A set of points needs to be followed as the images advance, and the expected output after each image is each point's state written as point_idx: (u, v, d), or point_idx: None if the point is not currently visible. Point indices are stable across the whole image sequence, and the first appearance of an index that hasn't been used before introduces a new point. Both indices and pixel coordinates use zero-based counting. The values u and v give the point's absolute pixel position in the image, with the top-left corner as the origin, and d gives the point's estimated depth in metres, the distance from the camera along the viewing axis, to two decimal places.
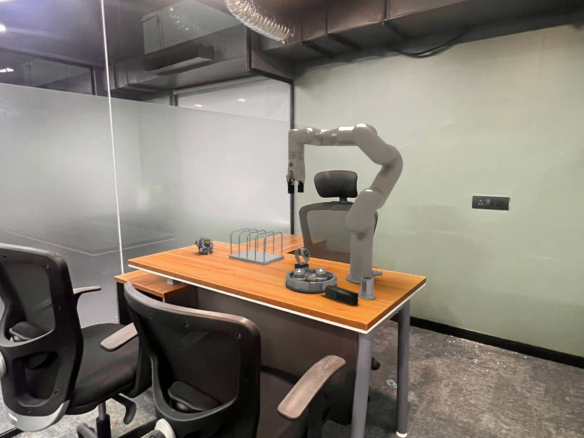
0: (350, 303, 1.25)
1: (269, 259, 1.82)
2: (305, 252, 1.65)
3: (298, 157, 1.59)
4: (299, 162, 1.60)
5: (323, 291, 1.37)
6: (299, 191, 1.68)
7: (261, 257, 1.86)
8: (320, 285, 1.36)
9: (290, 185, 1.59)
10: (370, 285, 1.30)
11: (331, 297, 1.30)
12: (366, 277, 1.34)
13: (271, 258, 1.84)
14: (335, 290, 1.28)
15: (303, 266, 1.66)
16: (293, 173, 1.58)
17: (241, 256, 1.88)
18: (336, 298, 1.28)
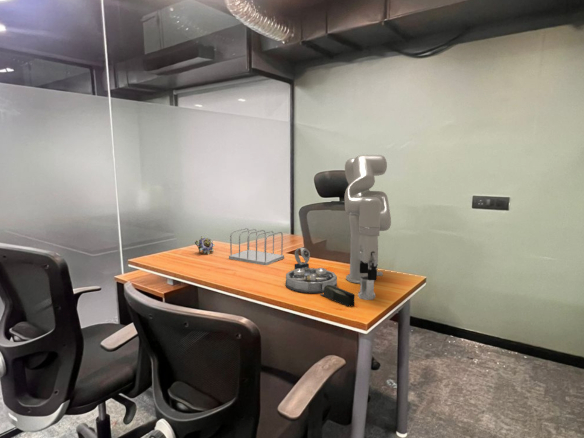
0: (346, 304, 1.24)
1: (270, 259, 1.82)
2: (305, 252, 1.65)
3: None
4: (360, 238, 1.31)
5: (323, 291, 1.37)
6: None
7: (262, 257, 1.86)
8: (320, 285, 1.36)
9: None
10: (370, 285, 1.30)
11: (329, 297, 1.30)
12: (366, 277, 1.34)
13: (272, 258, 1.84)
14: (332, 290, 1.28)
15: (303, 266, 1.66)
16: None
17: (241, 256, 1.87)
18: (333, 298, 1.28)
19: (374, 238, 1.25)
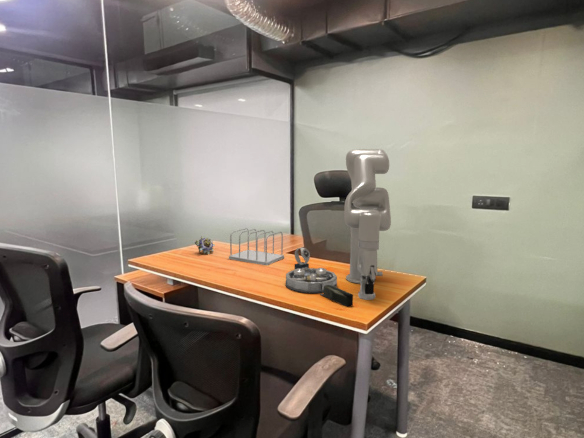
0: (344, 304, 1.24)
1: (270, 259, 1.82)
2: (305, 252, 1.65)
3: None
4: (359, 251, 1.32)
5: None
6: None
7: (262, 257, 1.86)
8: (320, 285, 1.36)
9: None
10: None
11: (328, 297, 1.30)
12: None
13: (272, 258, 1.84)
14: (331, 289, 1.29)
15: (303, 266, 1.66)
16: None
17: (241, 256, 1.87)
18: (332, 298, 1.28)
19: (373, 252, 1.26)
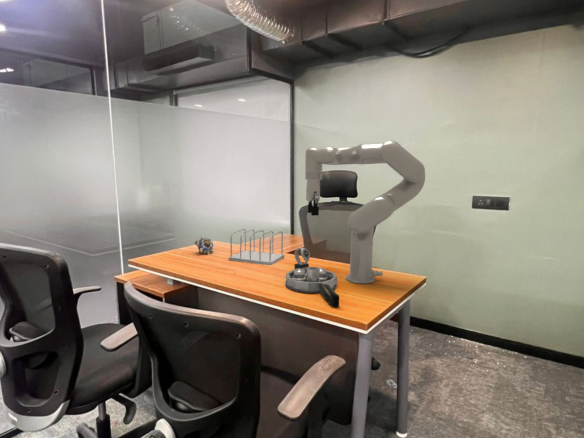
0: (330, 304, 1.24)
1: (273, 259, 1.83)
2: (305, 252, 1.65)
3: None
4: (307, 182, 1.58)
5: None
6: None
7: (263, 257, 1.86)
8: (320, 285, 1.36)
9: None
10: (315, 275, 1.38)
11: (323, 295, 1.32)
12: (313, 268, 1.42)
13: (274, 258, 1.85)
14: (324, 289, 1.30)
15: (303, 266, 1.66)
16: None
17: (242, 257, 1.85)
18: (324, 297, 1.29)
19: (316, 180, 1.52)
